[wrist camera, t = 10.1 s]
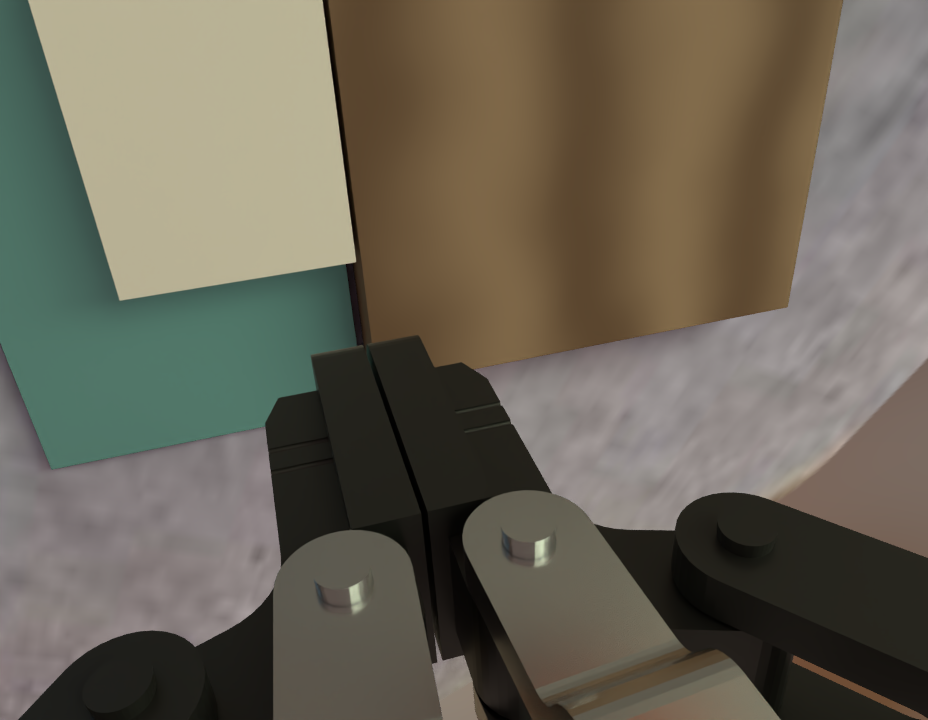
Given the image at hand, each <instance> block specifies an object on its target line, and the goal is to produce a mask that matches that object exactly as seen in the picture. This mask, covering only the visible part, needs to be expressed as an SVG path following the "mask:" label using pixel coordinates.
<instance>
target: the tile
mask: <svg viewBox="0 0 928 720" xmlns="http://www.w3.org/2000/svg"><path fill="white" fill-rule="evenodd" d="M28 2H29V5H30V8H31V12H32V15H33V18H34V21H35V25H36V28H37V31H38V35H39V38H40V41H41V44H42V48H43V51H44V54H45V58H46V61H47V64H48V67H49V71H50V74H51V77H52V80H53V84H54V87H55V90H56V94H57V97H58V100H59V103H60V107H61V110H62V113H63V116H64V120H65V123H66V126H67V130H68V133H69V136H70V139H71V143H72V146H73V149H74V152H75V156H76V159H77V162H78V166H79V169H80V172H81V175H82V179H83V182H84V185H85V188H86V192H87V195H88V198H89V202H90V205H91V208H92V211H93V215H94V218H95V221H96V225H97V228H98V231H99V234H100V238H101V241H102V244H103V247H104V251H105V254H106V257H107V261H108V264H109V267H110V270H111V274H112V277H113V280H114V283H115V287H116V290H117V293H118V297H119V300H120V301H121V300H127V299H133V298H139V297H146V296H152V295H158V294H164V293H170V292H176V291H182V290H189V289H195V288H201V287H207V286H213V285H219V284H225V283H232V282H238V281H244V280H250V279H256V278H262V277H268V276H275V275H281V274H287V273H293V272H299V271H305V270H311V269H318V268H324V267H330V266H336V265H342V264H348V263H354V262H356V256H355V249H354V241H353V233H352V225H351V218H350V210H349V202H348V195H347V187H346V179H345V171H344V164H343V156H342V148H341V140H340V133H339V125H338V117H337V110H336V102H335V94H334V86H333V79H332V71H331V63H330V55H329V48H328V40H327V32H326V25H325V17H324V9H323V1H322V0H28Z"/></svg>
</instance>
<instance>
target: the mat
mask: <svg viewBox="0 0 928 720" xmlns="http://www.w3.org/2000/svg"><path fill="white" fill-rule="evenodd" d="M0 344H1V346H2V349H3V351H4V354H5V356H6V359H7V361H8V363H9V366H10V368H11V371H12V373H13V376H14V378H15V381H16V383H17V386H18V388H19V391H20V393H21V395H22V398H23V400H24V403H25V405H26V408H27V410H28V413H29V415H30V418H31V420H32V423H33V425H34V427H35V430H36V432H37V435H38V437H39V440H40V442H41V445H42V447H43V450H44V452H45V455H46V457H47V459H48V462H49V464H50V467H51V469H57V468H62V467H67V466H72V465H77V464H82V463H87V462H92V461H97V460H102V459H107V458H112V457H117V456H121V455H126V454H131V453H136V452H141V451H146V450H151V449H156V448H161V447H166V446H171V445H176V444H181V443H186V442H191V441H196V440H201V439H206V438H211V437H216V436H220V435H225V434H230V433H235V432H240V431H245V430H250V429H255V428H260V427H265V422H266V420H267V418H268V417H269V415H270V413H271V411H272V409H273V407H274V405H275V403H276V401H277V399H278V398H280V397H285V396H291V395H296V394H301V393H306V392H311V391H316V385H315V380H314V374H313V368H312V362H311V355H312V354H317V353H323V352H328V351H333V350H339V349H344V348H350V347H355V346H357V343H356V336H355V328H354V321H353V314H352V307H351V300H350V292H349V285H348V278H347V271H346V264H342V265H336V266H330V267H324V268H318V269H311V270H305V271H299V272H293V273H287V274H281V275H275V276H268V277H262V278H256V279H250V280H244V281H238V282H232V283H225V284H219V285H213V286H207V287H201V288H195V289H189V290H182V291H176V292H170V293H164V294H158V295H152V296H146V297H139V298H133V299H127V300H121V301H120V300H119V297H118V293H117V290H116V287H115V283H114V280H113V277H112V274H111V270H110V267H109V264H108V261H107V257H106V254H105V251H104V247H103V244H102V241H101V238H100V234H99V231H98V228H97V225H96V221H95V218H94V215H93V211H92V208H91V205H90V202H89V198H88V195H87V192H86V188H85V185H84V182H83V179H82V175H81V172H80V169H79V166H78V162H77V159H76V156H75V152H74V149H73V146H72V143H71V139H70V136H69V133H68V130H67V126H66V123H65V120H64V116H63V113H62V110H61V107H60V103H59V100H58V97H57V94H56V90H55V87H54V84H53V80H52V77H51V74H50V71H49V67H48V64H47V61H46V58H45V54H44V51H43V48H42V44H41V41H40V38H39V35H38V31H37V28H36V25H35V21H34V18H33V15H32V12H31V8H30V5H29V2H28V0H0Z"/></svg>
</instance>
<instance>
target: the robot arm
mask: <svg viewBox="0 0 928 720" xmlns="http://www.w3.org/2000/svg"><path fill="white" fill-rule="evenodd" d="M366 353H367V355H366ZM311 362H312V368H313V374H314V380H315V385H316V391H311V392H306V393H301V394H296V395H291V396H285V397H280V398H278V399H277V401H276V403H275V405H274V407H273V409H272V411H271V413H270V415H269V417H268V418H267V420H266V422H265V427H266V436H267V444H268V451H269V461H270V469H271V475H272V476H271V477H272V486H273V494H274V502H275V510H276V519H277V527H278V535H279V544H280V552H281V569H280V570H279V572H278V574H277V577H276V580H275V583H274V588H273V590H272V591H271V593H270V595H269V596H268V597H267V598H266V600H265V601H264V602H263V603H262V605H261V606H260V607H258V608H257V609H256V610H255V611H254V612H253V613H252V614H251V615H250V616H248V617H247V618H246V619H244V620H243V621H242V622H240V623H239V624H237V625H235V626H233V627H232V628H230V629H228V630H227V631H225V632H223V633H221V634H219V635H217V636H215V637H213V638H211V639H210V640H208V641H206V642H204V643H202V644H200V645H198V646H196V647H194V645H193V644H191V643H190V642H189V641H187V640H186V639H185V638H182V637H180V636H178V635H176V634H172V633H168V632H164V631H141V632H135V633H130V634H126V635H123V636H120V637H117V638H114V639H111V640H109V641H107V642H105V643H102V644H100V645H98V646H97V647H95V648H93V649H92V650H90V651H88V652H87V653H85V654H84V655H83V656H81V657H80V658H79V659H77V660H76V661H75V662H74V663H73V664H71V665H70V666H69V667H68V668H67V669H66V670H65V671H64V672H63V673H62V674H61V675H60V676H59V677H58V678H57V679H56V680H55V681H54V683H53V684H52V685H51V686H50V687H49V688H48V689H47V690H46V691H45V692H44V693H43V694H42V695H41V696H40V697H39V698H38V699H37V700H36V702H35V703H34V704H33V705H32V706H31V707H30V708H29V709H28V710H27V711H26V712H25V713H24V714H23V715H22V716H21V717H20V718H19V719H18V720H443V717H442V712H441V707H440V702H439V697H438V692H437V687H436V682H435V677H434V672H433V667H432V664H433V663H437V656H436V646H435V637H436V640H437V644H438V647H439V650H440V653H441V657H442V660H446V659H450V658H454V657H458V656H461V655H464V656H465V659H466V662H467V665H468V668H469V671H470V674H471V677H472V680H473V691H474V704H475V712H476V715H477V718H478V720H919V719H915V718H911V717H909V716H907V715H904V714H902V713H900V712H898V711H896V710H894V709H891V708H889V707H887V706H884V705H882V704H881V703H878V702H876V701H874V700H872V699H870V698H868V697H866V696H863V695H861V694H859V693H857V692H855V691H853V690H851V689H848V688H846V687H844V686H842V685H840V684H837V683H836V682H833V681H831V680H829V679H827V678H825V677H822V676H820V675H818V674H816V673H814V672H812V671H810V670H808V669H806V668H803V667H801V666H799V665H797V664H794V663H793V662H792V660H793V656H794V655H795V656H797V657H799V658H801V659H804V660H806V661H808V662H810V663H812V664H814V665H816V666H819V667H821V668H823V669H825V670H827V671H830V672H832V673H834V674H836V675H838V676H840V677H843V678H845V679H847V680H849V681H851V682H854V683H856V684H858V685H860V686H862V687H864V688H866V689H869V690H871V691H873V692H875V693H877V694H880V695H882V696H884V697H886V698H888V699H890V700H893V701H895V702H897V703H899V704H901V705H904V706H906V707H908V708H910V709H912V710H914V711H916V712H918V713H920V714H922V715H924V716H925V717H927V718H928V558H926V557H924V556H920V555H918V554H915V553H913V552H910V551H907V550H904V549H902V548H899V547H896V546H894V545H891V544H888V543H886V542H883V541H880V540H877V539H875V538H872V537H869V536H866V535H864V534H861V533H858V532H856V531H853V530H850V529H848V528H845V527H842V526H839V525H837V524H834V523H831V522H828V521H826V520H823V519H820V518H818V517H815V516H812V515H809V514H807V513H804V512H801V511H799V510H796V509H793V508H791V507H788V506H785V505H782V504H780V503H777V502H774V501H772V500H769V499H766V498H762V497H759V496H755V495H750V494H745V493H718V494H712V495H708V496H705V497H702V498H699V499H697V500H695V501H693V502H692V503H691V504H689V505H688V506H686V508H685V509H684V510H683V511H682V512H681V513H680V515H679V517H678V519H677V523H676V527H675V531H666V530H623V529H613V528H608V527H603V526H599V525H596V524H593V522H592V521H591V520H590V518H589V517H588V516H587V514H586V513H585V512H584V511H583V510H582V509H581V508H580V507H578V506H577V505H576V504H575V503H573V502H571V501H569V500H568V499H566V498H563V497H561V496H558V495H556V494H552V493H551V491H550V489H549V487H548V486H547V484H546V482H545V480H544V478H543V477H542V475H541V473H540V471H539V470H538V468H537V466H536V464H535V463H534V461H533V459H532V457H531V455H530V454H529V452H528V450H527V448H526V447H525V445H524V443H523V441H522V440H521V438H520V436H519V434H518V432H517V431H516V429H515V427H514V425H511V422H510V418H509V417H508V415H507V413H506V411H505V409H504V408H503V406H501V405H500V401H499V399H498V397H497V395H496V393H495V392H494V390H493V388H492V386H491V385H490V383H489V381H488V379H487V378H485V377H484V376H482V375H481V374H479V373H478V372H476V371H475V370H473V369H471V368H470V367H468V366H467V365H465V364H464V363H462V362H460V363H455V364H450V365H445V366H439V367H434V366H433V363H432V361H431V359H430V357H429V355H428V353H427V351H426V349H425V347H424V344H423V342H422V340H421V338H420V337H419V335H414V336H408V337H403V338H398V339H392V340H387V341H381V342H376V343H370V344H367V345H366V352H365V349H364V347H363V345H361V346H355V347H350V348H344V349H339V350H333V351H328V352H323V353H317V354H312V355H311ZM434 634H435V637H434Z"/></svg>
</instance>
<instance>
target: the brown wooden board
mask: <svg viewBox="0 0 928 720" xmlns="http://www.w3.org/2000/svg"><path fill="white" fill-rule="evenodd" d="M322 1H323V9H324V17H325V25H326V32H327V40H328V48H329V55H330V63H331V71H332V79H333V86H334V94H335V102H336V110H337V117H338V125H339V133H340V140H341V148H342V156H343V164H344V171H345V179H346V187H347V195H348V202H349V210H350V218H351V225H352V233H353V241H354V249H355V256H356V262H354V263H353V268H354V276H355V283H356V291H357V298H358V306H359V313H360V321H361V329H362V336H363V344H364V349H365V352H366V345H367V344H370V343H376V342H381V341H387V340H392V339H398V338H403V337H408V336H414V335H419V337H420V338H421V340H422V342H423V344H424V347H425V349H426V351H427V353H428V355H429V357H430V359H431V361H432V363H433V366H434V367H439V366H445V365H450V364H455V363H460V362H462V363H464V364H465V365H467V366H468V367H470V368H471V369H478V368H483V367H488V366H493V365H498V364H503V363H508V362H513V361H518V360H523V359H528V358H533V357H538V356H543V355H548V354H553V353H558V352H563V351H568V350H574V349H579V348H584V347H589V346H594V345H599V344H604V343H609V342H614V341H619V340H624V339H629V338H634V337H639V336H644V335H649V334H654V333H659V332H664V331H670V330H675V329H680V328H685V327H690V326H695V325H700V324H705V323H710V322H715V321H720V320H725V319H730V318H735V317H740V316H745V315H750V314H755V313H760V312H766V311H771V310H776V309H781V308H786V307H788V302H789V296H790V291H791V285H792V280H793V274H794V269H795V263H796V258H797V252H798V246H799V241H800V235H801V230H802V224H803V219H804V213H805V208H806V202H807V197H808V191H809V186H810V180H811V175H812V169H813V164H814V158H815V153H816V147H817V142H818V136H819V131H820V125H821V119H822V114H823V108H824V103H825V97H826V92H827V86H828V81H829V75H830V70H831V64H832V59H833V53H834V48H835V42H836V37H837V31H838V26H839V20H840V15H841V9H842V4H843V0H322ZM366 355H367V353H366Z"/></svg>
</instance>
